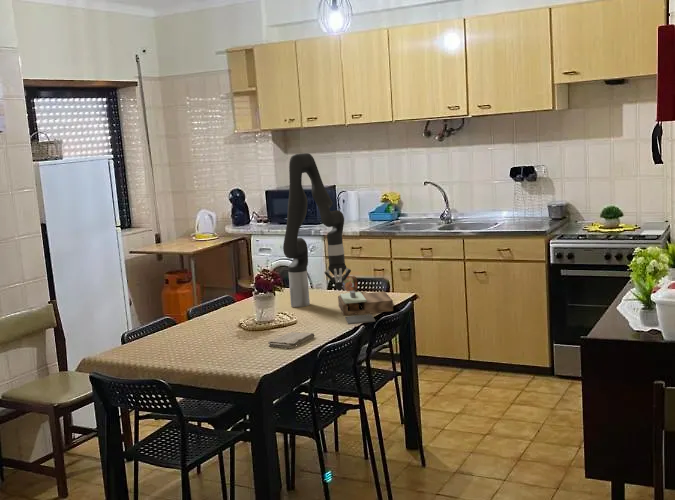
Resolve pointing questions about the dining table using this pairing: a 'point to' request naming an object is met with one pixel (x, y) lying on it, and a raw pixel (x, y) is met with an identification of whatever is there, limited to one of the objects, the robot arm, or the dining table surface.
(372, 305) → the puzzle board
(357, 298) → the cover
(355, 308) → the block
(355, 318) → the rubber mat
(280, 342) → the washcloth
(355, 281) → the tin
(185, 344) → the dining table surface
